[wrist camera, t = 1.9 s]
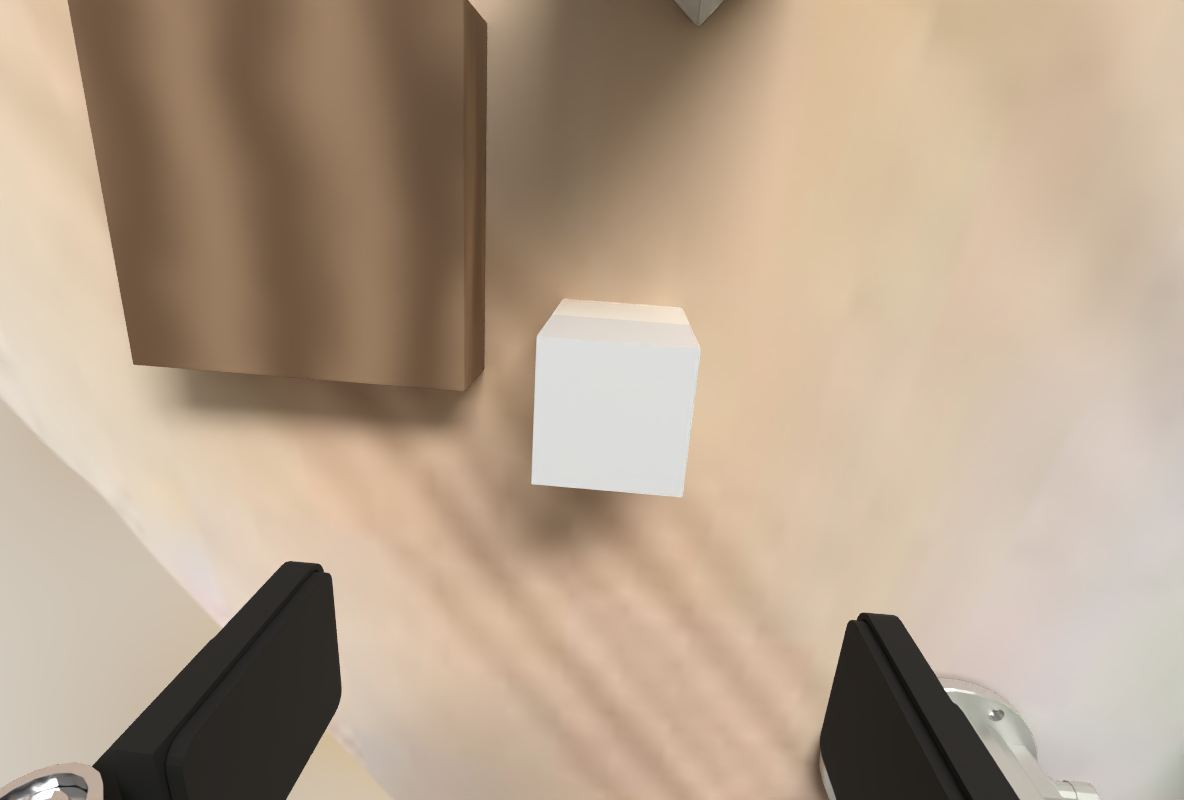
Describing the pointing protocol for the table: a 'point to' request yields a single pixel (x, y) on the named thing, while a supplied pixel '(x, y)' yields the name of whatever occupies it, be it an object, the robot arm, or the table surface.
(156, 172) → the walnut stand
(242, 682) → the robot arm
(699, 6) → the skincare box
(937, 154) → the table surface
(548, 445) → the white rectangular block
